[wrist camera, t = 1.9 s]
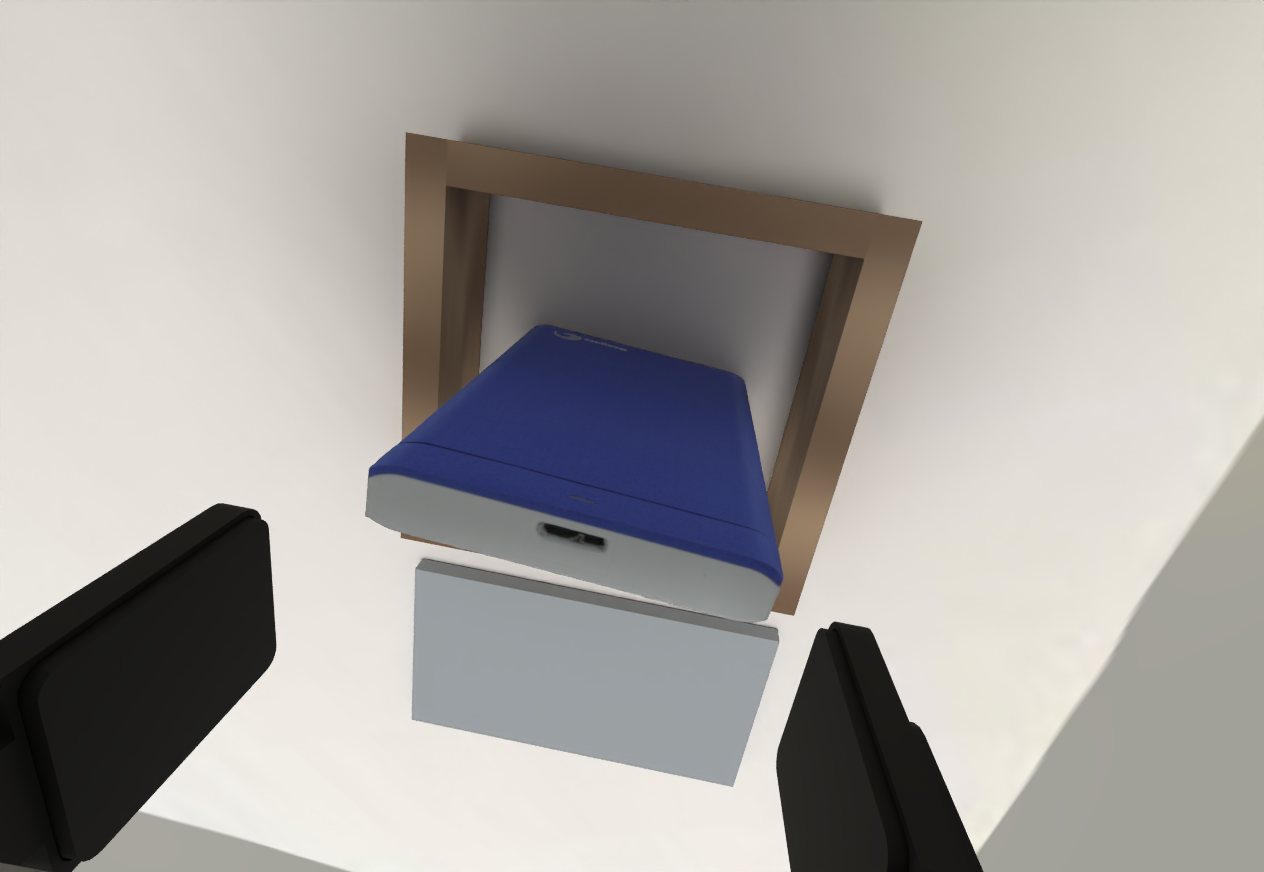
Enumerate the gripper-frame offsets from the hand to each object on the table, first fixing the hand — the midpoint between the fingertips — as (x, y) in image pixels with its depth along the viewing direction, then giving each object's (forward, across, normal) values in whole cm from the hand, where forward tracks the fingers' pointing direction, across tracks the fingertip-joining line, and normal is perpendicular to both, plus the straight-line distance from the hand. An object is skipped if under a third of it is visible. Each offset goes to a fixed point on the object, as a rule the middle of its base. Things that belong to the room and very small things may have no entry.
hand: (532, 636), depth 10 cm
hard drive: (+14, 0, -1) cm, 15 cm away
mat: (+15, 0, +14) cm, 20 cm away
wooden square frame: (+14, 0, -1) cm, 14 cm away
